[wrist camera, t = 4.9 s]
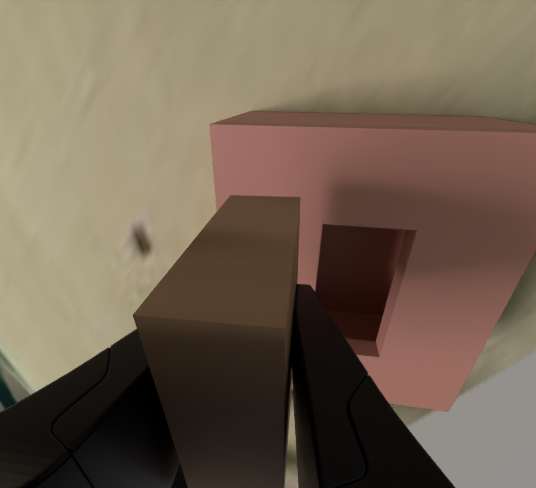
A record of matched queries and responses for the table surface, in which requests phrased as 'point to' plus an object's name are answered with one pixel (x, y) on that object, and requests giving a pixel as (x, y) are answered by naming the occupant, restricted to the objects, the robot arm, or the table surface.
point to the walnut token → (228, 344)
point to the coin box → (397, 229)
